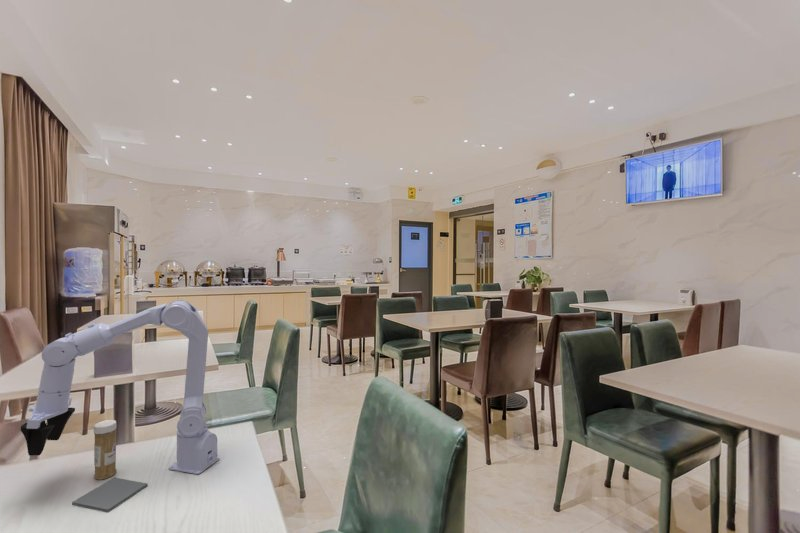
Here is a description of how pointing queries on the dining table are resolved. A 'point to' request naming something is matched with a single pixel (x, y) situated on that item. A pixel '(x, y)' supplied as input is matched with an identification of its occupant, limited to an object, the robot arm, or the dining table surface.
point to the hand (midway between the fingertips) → (44, 446)
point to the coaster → (110, 494)
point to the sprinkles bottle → (105, 449)
